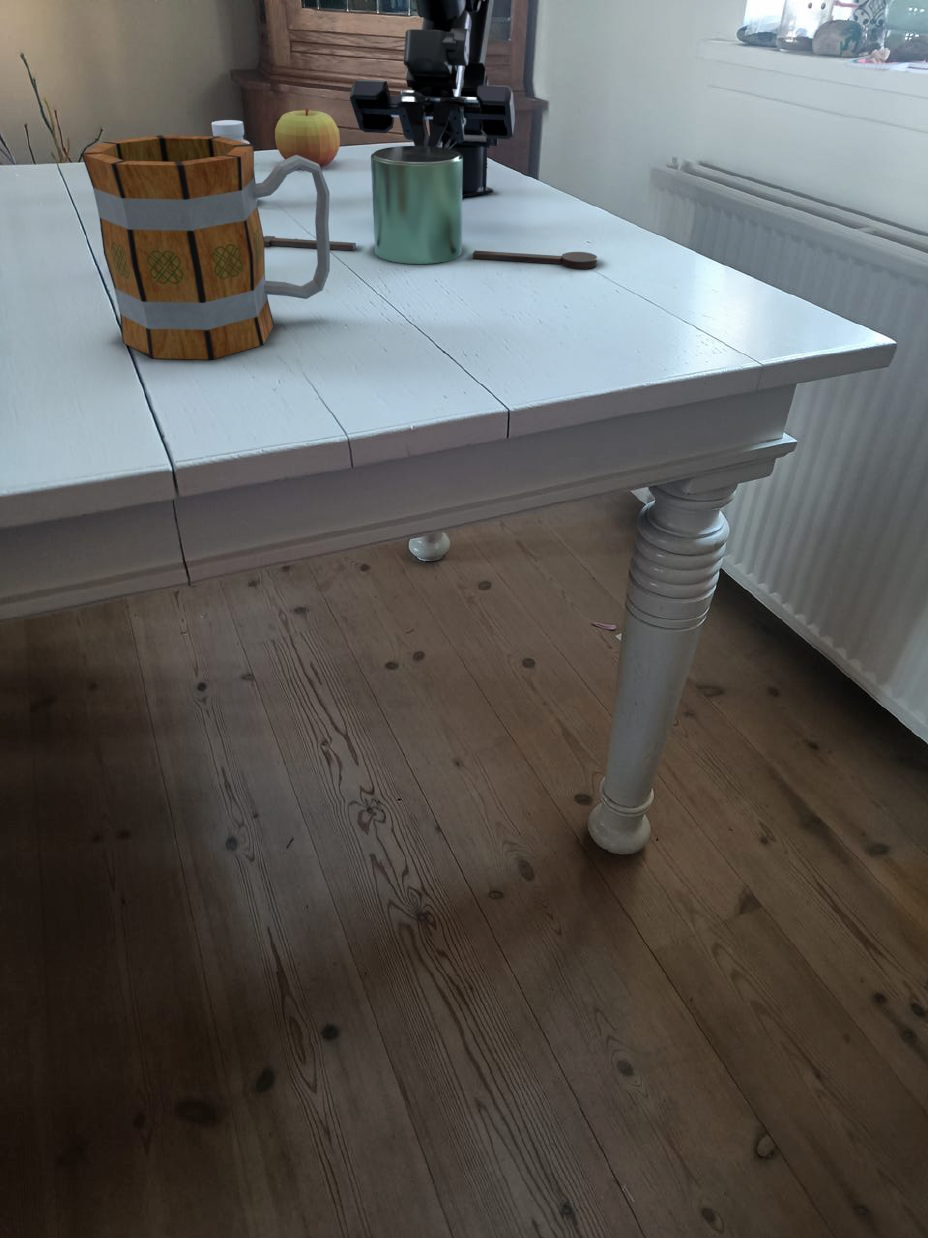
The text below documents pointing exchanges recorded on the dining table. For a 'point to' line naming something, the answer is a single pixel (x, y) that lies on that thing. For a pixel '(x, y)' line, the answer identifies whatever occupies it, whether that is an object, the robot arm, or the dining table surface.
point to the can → (417, 204)
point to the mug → (193, 242)
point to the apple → (308, 136)
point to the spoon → (543, 258)
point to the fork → (306, 243)
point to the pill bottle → (230, 131)
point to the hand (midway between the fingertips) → (423, 174)
